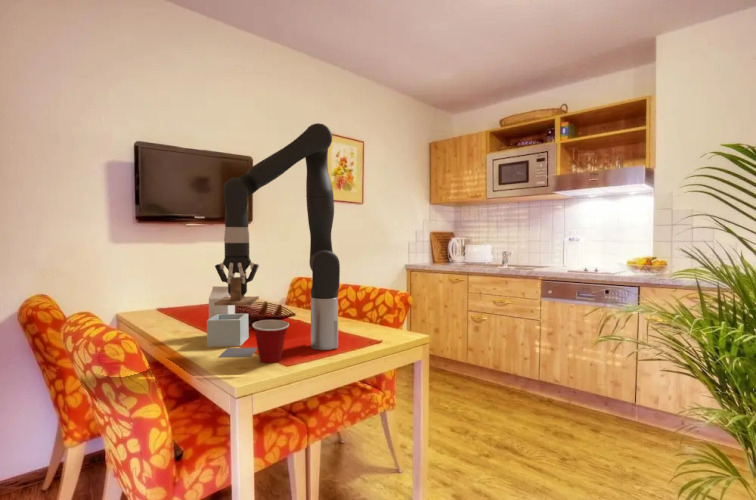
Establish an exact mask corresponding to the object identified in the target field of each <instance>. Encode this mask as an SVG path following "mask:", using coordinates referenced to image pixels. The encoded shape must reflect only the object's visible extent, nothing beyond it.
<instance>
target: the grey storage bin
mask: <svg viewBox="0 0 756 500" xmlns="http://www.w3.org/2000/svg"><path fill="white" fill-rule="evenodd" d="M249 335H250V334H249V313H235V314H217V315H215V316H213V317H212V318H210V319H209V318H208V319H207V320H206V344H207V345H206V347H207V348H208V347H209V348H210V347H242V345H243V344H244V343H245V342H246V341H247V340H248V339H249Z"/></svg>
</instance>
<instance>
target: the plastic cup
mask: <svg viewBox="0 0 756 500" xmlns="http://www.w3.org/2000/svg"><path fill="white" fill-rule="evenodd" d="M251 324H252V328H253V331H254V335H255V340H256V344H257V346H256V347H257V348H258V349H257V351H258V355H259V361H260V362H261V363H263V364H275V363H276V364H277V363H278V362H280V361H281V360H282V354H283V350H284V346H285V338H286V334H287V331H288V329H289V326H290V323H289V321H288V322H287V321H285V320H282V319H261V320H258V321H255V322H253V323H251Z"/></svg>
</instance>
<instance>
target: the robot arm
mask: <svg viewBox="0 0 756 500" xmlns="http://www.w3.org/2000/svg"><path fill="white" fill-rule="evenodd" d="M332 141H333V134H332V130H331V129H330V128H329V127H328V126H327V125H325V124H324V123H318V122H317V123H313V124H311V125H309V126H308V127H307V128H306V129H305V130H304V131H303V132H302V133H301V134H300V135H298V137H297V138H295V139H294V140H292V141H291V142H290V143H288V144H287V145H285V146H284V147H282V148H281V149H279V150H278V151H276V152H274V153H273V154H271V155H269V156H267V157H266V158H263V159H262V160H261V161H259V162H258V163H256V164H254V165H253V166H251V167H250V168H249V169H248V171H247V172H245V173H244V174H242V175H240V176H239V177H232V178H230V179H227V180H226V182H225V184H224V187H223V196H224V198H223V199H224V206H225V207H224V208H225V213H224V214H225V215H224V233H223V235H224V237H223V241H224V259H223V262H220V263H218V264H215V266H214V268H215V270H216V271H217V274H218V276H219V279H220V281H221V282H222V283H226V284H227V287H228V293H229V294H230V296H231V293H230V279H231V278H234V277H236V275H235V274H236V273H237V274H239V277H241V282H242V284H241V290H242V295H244V296H245V295H246V294H247V293H248V283H250V282H252V281H253V280H254V278H255V275H256V273H257V272H258V269H259V267H260V265H259V264H258V263H254V262H252V260H251V258H250V232H249V230H250V229H249V214H248V198H249V197H250V196H252V195H254V194H255V192H257V191H258V190H260V189H261V188H262V187H264V186H266V185H269V184H270V183H271V182H273V181H274V180H276V179H277V178H279V177H281V176H282V175H283V174H284V173H286V172H287V171H288V170H289V169H291V168H292V167H294V165H296V164H297V163H299V162H300V161H301V160H303V159H305V165H306V166H305V167H306V180H305V181H306V182H305V184H306V186H305V187H306V188H305V191H306V193H305V194H306V195H305V197H306V210H307V221H308V222H307V223H308V228H309V236H310V242H309V243H310V247H309V248H310V249H309V267H310V270H311V272H312V273H311V274H312V277H311V278H312V279H311V280H312V282H311V289H310V348H311V349H313V350H316V351H317V350H318V351H329V350H333V349H335V350H336V349H339V317H338V316H339V290H340V276H341V275H340V273H341V270H340V269H341V267H340V266H341V265H340V259H339V257H338V255H336V253H334V252H333V245H332V244H333V243H332V229H333V223H334V217H335V216H334V215H335V201H334V190H333V185H332V181H331V177H330V173H329V168H328V167H329V166H328V157H329V156H328V155H329V148H330V147H331V144H332ZM225 268H226V269H227V271H228V273H227V274H226V272H225V270H224V269H225ZM248 268H250V273H249V275H248V277H247V270H248Z"/></svg>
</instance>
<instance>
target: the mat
mask: <svg viewBox="0 0 756 500" xmlns="http://www.w3.org/2000/svg"><path fill="white" fill-rule="evenodd" d="M256 351H258V347H227V348H226V349H225V350H224V351H223V352H222V353H221V354H219V355H218V357H217V358H251V357H252V356H253V355H254V354H255V352H256Z"/></svg>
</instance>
